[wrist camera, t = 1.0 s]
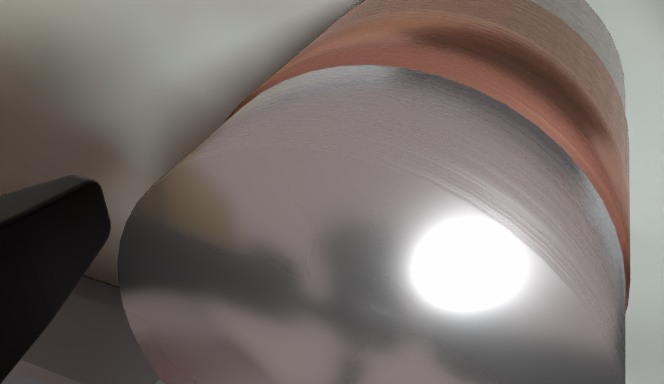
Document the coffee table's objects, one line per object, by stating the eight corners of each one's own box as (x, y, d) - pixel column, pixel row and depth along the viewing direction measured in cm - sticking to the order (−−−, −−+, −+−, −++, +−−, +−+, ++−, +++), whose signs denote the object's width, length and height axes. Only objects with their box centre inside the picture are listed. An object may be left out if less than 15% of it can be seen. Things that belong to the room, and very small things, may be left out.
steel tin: (583, 250, 13) (553, 600, 7) (331, 191, 14) (157, 440, 9) (674, -30, 9) (739, 234, 4) (333, -63, 11) (60, 89, 6)
